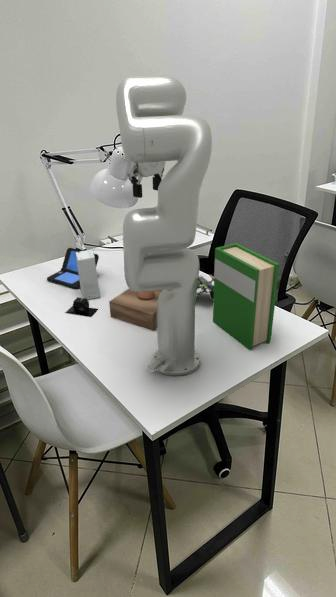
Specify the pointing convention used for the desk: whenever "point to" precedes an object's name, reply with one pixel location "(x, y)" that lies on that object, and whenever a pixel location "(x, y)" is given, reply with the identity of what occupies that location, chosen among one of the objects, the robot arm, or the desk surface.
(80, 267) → the skincare box
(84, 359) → the desk surface
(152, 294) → the beige rounded cylinder
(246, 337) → the hardback book
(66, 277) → the game console
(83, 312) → the build plate
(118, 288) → the desk surface
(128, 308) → the walnut block
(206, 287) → the passion flower
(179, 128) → the robot arm
